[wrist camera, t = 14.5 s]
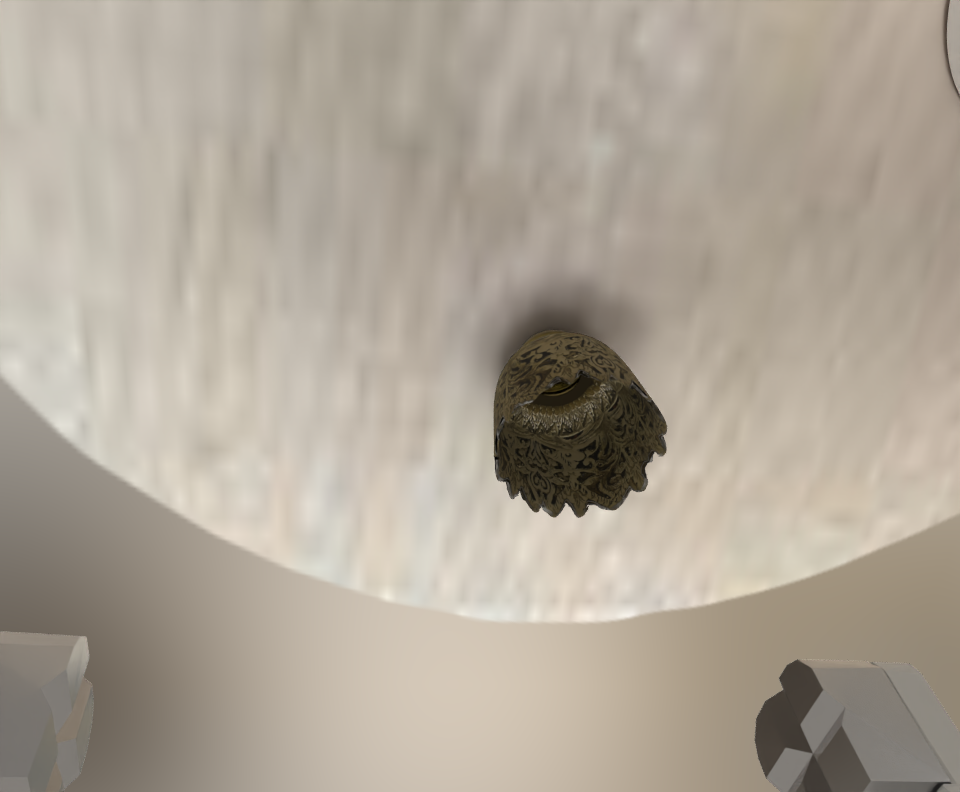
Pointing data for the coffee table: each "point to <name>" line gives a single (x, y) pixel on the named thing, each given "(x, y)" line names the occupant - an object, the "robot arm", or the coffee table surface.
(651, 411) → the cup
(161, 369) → the coffee table surface
